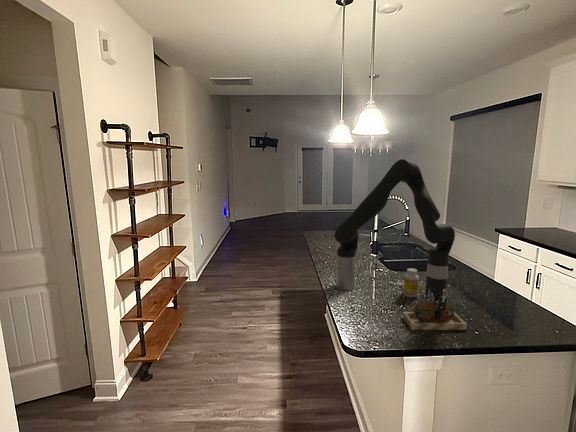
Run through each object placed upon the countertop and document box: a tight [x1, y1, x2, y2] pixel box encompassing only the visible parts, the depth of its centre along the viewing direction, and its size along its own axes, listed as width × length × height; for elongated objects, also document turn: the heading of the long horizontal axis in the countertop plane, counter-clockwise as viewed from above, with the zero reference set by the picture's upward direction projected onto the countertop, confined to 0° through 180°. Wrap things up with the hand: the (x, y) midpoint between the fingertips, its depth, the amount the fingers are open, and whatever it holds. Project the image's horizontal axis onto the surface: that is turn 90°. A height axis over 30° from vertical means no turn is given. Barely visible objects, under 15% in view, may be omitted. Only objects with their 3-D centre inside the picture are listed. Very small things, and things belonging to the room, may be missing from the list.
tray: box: [402, 311, 468, 331], centre depth 130 cm, size 21×10×2 cm, turn 89°
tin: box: [413, 301, 455, 323], centre depth 130 cm, size 15×3×8 cm, turn 89°
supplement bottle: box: [402, 267, 420, 298], centre depth 157 cm, size 7×7×13 cm
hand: (433, 314), depth 130 cm, fingers open, 6 cm apart
